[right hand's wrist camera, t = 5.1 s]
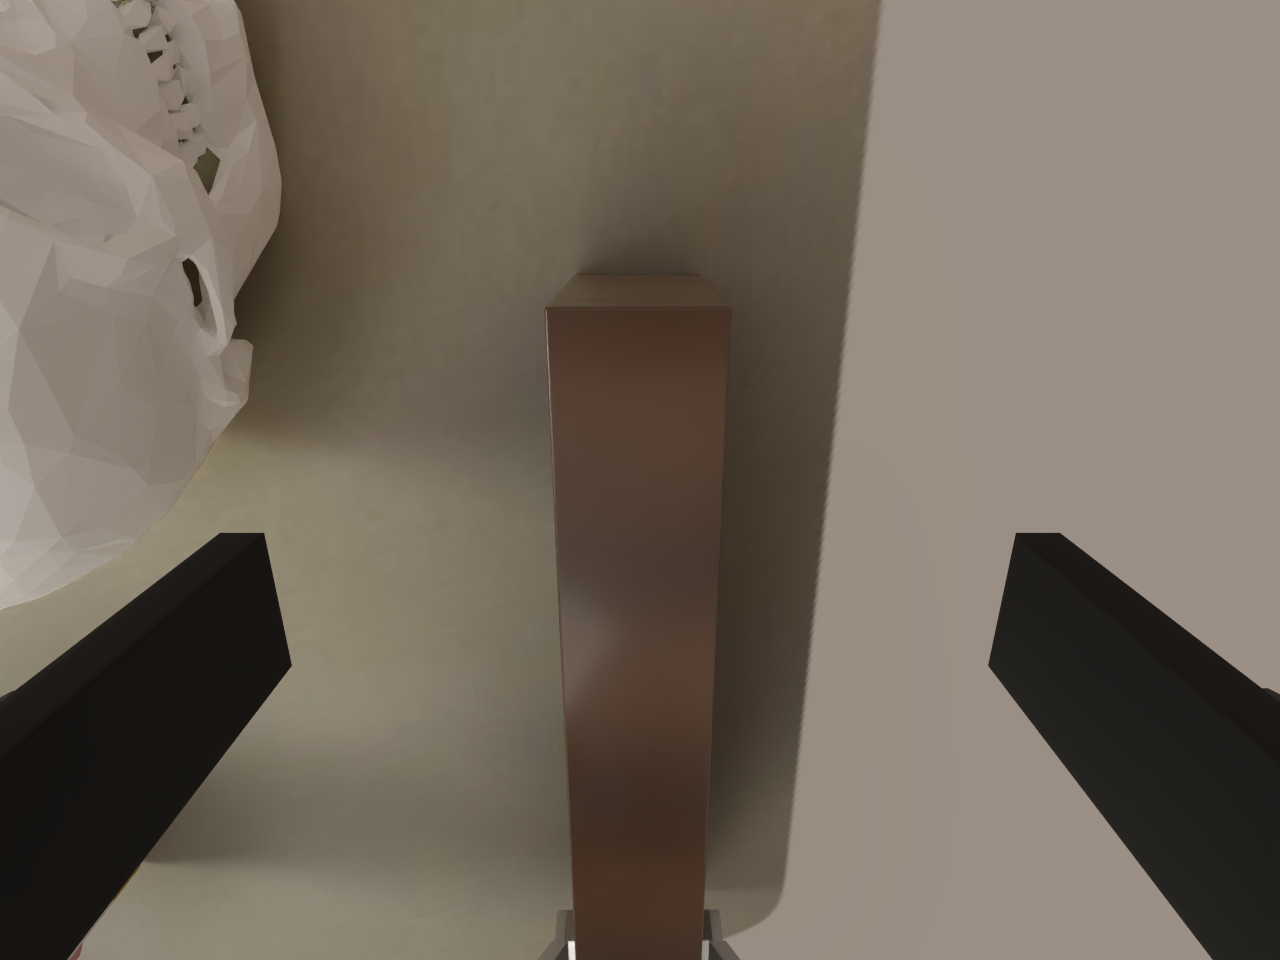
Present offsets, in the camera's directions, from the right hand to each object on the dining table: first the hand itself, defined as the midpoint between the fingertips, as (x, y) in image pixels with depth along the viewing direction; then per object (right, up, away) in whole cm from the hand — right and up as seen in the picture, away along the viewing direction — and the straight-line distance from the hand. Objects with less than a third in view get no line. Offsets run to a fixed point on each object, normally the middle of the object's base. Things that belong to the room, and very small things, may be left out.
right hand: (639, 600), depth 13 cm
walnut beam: (0, -5, +22) cm, 22 cm away
